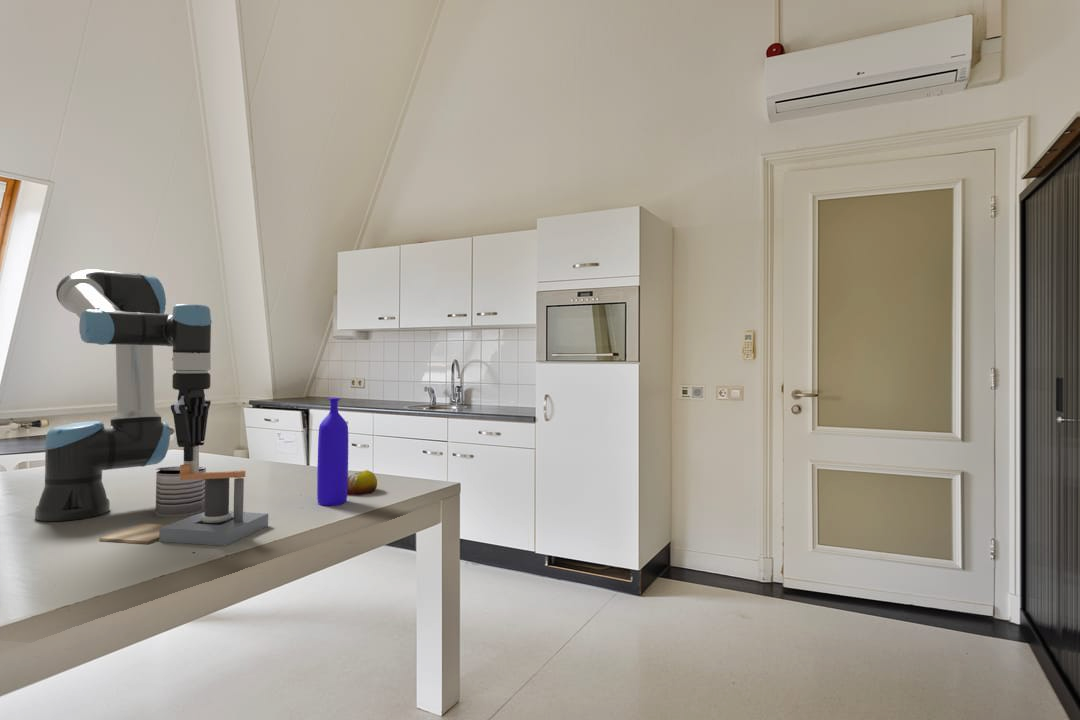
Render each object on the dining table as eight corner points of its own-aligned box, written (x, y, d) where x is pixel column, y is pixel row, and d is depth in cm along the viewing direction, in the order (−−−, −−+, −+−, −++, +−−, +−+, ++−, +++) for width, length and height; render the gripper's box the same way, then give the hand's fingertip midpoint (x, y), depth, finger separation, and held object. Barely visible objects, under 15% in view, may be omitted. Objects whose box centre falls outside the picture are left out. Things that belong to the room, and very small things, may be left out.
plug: (194, 536, 136) (195, 479, 136) (213, 528, 143) (214, 474, 143) (219, 537, 136) (220, 481, 136) (237, 530, 142) (238, 475, 142)
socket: (159, 541, 132) (160, 483, 132) (208, 522, 148) (209, 470, 148) (225, 545, 130) (226, 486, 130) (268, 525, 146) (269, 472, 146)
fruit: (360, 485, 193) (366, 462, 192) (380, 499, 187) (386, 475, 186) (331, 489, 184) (336, 466, 183) (351, 504, 178) (357, 480, 177)
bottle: (337, 507, 165) (339, 399, 165) (310, 505, 167) (312, 398, 167) (352, 500, 173) (354, 397, 173) (327, 498, 175) (329, 396, 175)
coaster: (99, 540, 132) (99, 537, 132) (142, 525, 144) (142, 523, 144) (148, 543, 130) (148, 541, 130) (187, 528, 142) (187, 526, 142)
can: (144, 514, 154) (145, 468, 154) (184, 504, 165) (185, 461, 165) (176, 518, 150) (177, 471, 150) (215, 508, 161) (216, 464, 161)
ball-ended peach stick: (178, 480, 133) (178, 466, 133) (181, 478, 135) (181, 464, 135) (244, 477, 138) (244, 463, 138) (245, 475, 140) (246, 461, 140)
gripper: (190, 371, 142) (189, 469, 143) (158, 372, 129) (157, 480, 130) (222, 371, 143) (221, 469, 143) (193, 373, 130) (193, 480, 130)
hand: (191, 474), depth 136 cm, fingers closed
